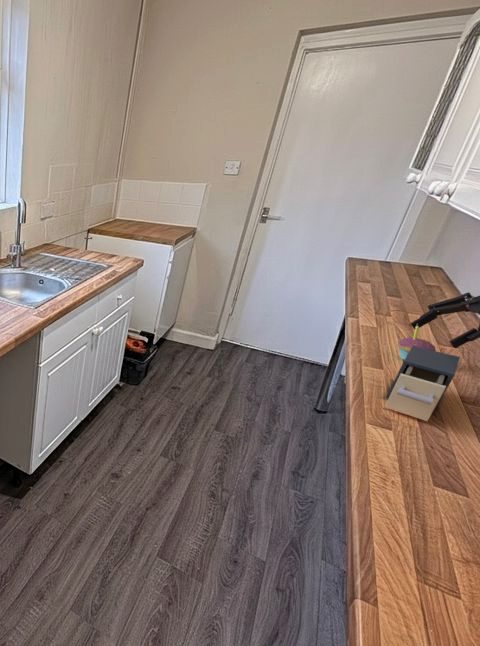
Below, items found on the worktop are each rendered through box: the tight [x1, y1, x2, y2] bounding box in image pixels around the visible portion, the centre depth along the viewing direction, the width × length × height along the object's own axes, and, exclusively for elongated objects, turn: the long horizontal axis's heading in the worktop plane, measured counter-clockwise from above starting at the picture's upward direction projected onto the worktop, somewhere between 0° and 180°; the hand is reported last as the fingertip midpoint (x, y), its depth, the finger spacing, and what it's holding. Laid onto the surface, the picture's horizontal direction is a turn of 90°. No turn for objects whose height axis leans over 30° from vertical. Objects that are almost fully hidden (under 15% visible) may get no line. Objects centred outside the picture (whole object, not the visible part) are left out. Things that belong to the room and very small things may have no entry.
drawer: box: [384, 366, 446, 422], centre depth 105 cm, size 18×8×10 cm, turn 129°
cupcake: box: [396, 324, 437, 361], centre depth 131 cm, size 9×8×12 cm
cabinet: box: [386, 346, 461, 414], centre depth 112 cm, size 15×9×12 cm, turn 129°
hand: (431, 335), depth 130 cm, fingers open, 13 cm apart
